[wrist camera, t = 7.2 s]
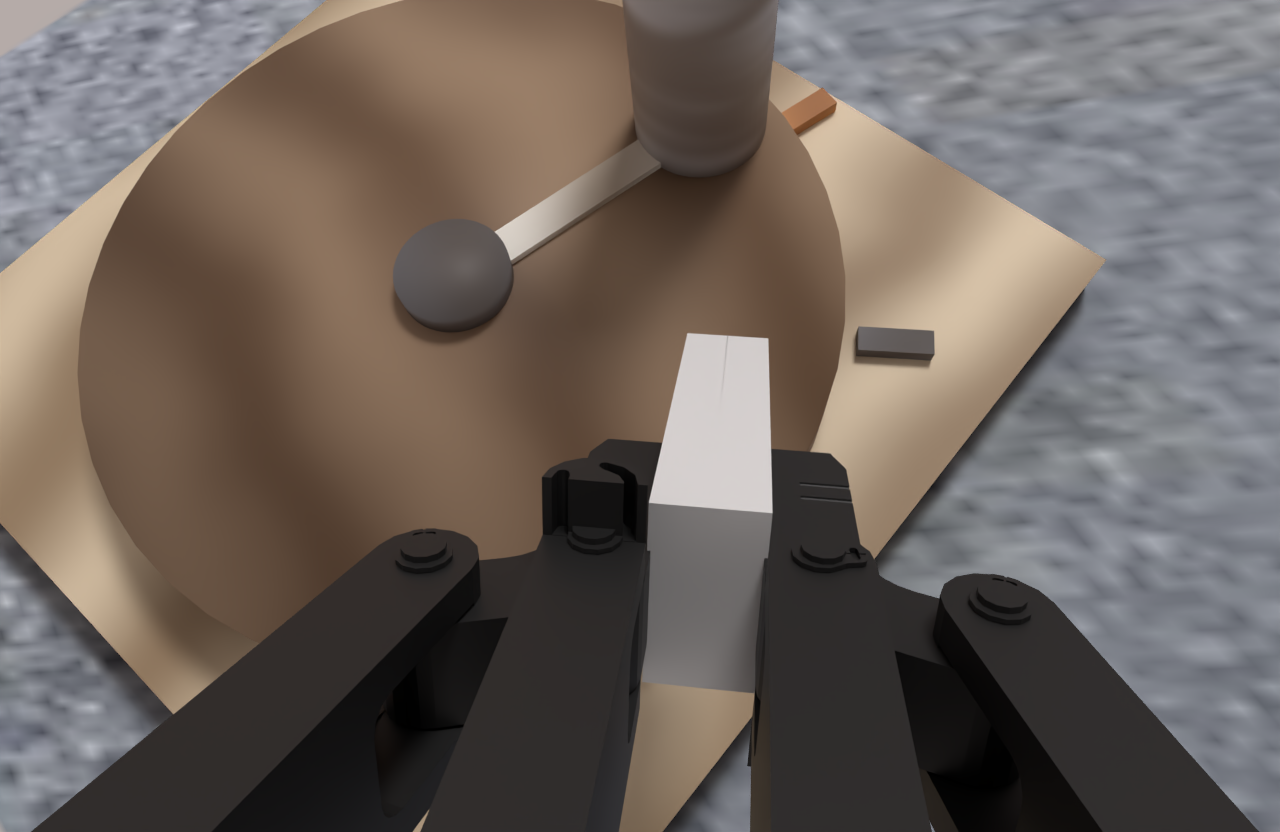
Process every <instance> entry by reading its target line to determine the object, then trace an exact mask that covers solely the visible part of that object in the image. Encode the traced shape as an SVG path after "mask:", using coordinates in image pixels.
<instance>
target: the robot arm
mask: <svg viewBox="0 0 1280 832" xmlns="http://www.w3.org/2000/svg"><path fill="white" fill-rule="evenodd" d="M542 524H543V535H542V537H541V540H540V542H539V545H538V547H537V549H536V550H535V551H532V552H529V553H526V554H522V555H518V556H512V557H506V558H497V559H487V560H479V553H478V546H477V545H476V544H475V543H474V542H473V541H472V540H471V539H470V538H469V537H468V536H465V535H462V534H460V533H457V532H455V531H450V530H441V529H436V528H426V529H424V530H423V529H417V530H412V531H410V532H406V533H403V534H400V535H396V536H393V537H392V538H390V539H388V540H387V541H385V542H383V543H381V544H380V545H378V546H377V547H376V548H375V549H373V550H372V551H371V552H370V553H368V554H367V555H366V556H365V557H364V558H362V559H361V560H360V561H359V562H358V563H356V564H355V565H354V566H353V567H351V568H350V569H349V570H348V571H347V572H345V573H344V574H343V575H342V576H341V577H339V578H338V579H337V580H336V581H335V582H333V583H332V584H331V585H330V586H328V587H327V588H326V589H325V590H324V591H322V592H321V593H320V594H319V595H318V596H316V597H315V598H314V599H313V600H311V601H310V602H309V603H308V604H307V605H305V606H304V607H303V608H302V609H301V610H299V611H298V612H297V613H296V614H294V615H293V616H292V617H291V618H290V619H288V620H287V621H286V622H285V623H284V624H282V625H281V626H280V627H279V628H278V629H276V630H275V631H274V632H273V633H271V634H270V635H269V636H268V637H267V638H265V639H264V640H263V641H262V642H261V643H259V644H258V645H257V646H256V647H254V648H253V649H252V650H251V651H250V652H248V653H247V654H246V655H245V656H244V657H242V658H241V659H240V660H239V661H238V662H236V663H235V664H234V665H233V666H231V667H230V668H229V669H228V670H227V671H225V672H224V673H223V674H222V675H221V676H219V677H218V678H217V679H216V680H214V681H213V682H212V683H211V684H210V685H208V686H207V687H206V688H205V689H204V690H202V691H201V692H200V693H199V694H198V695H196V696H195V697H194V698H193V699H191V700H190V701H189V702H188V703H187V704H185V705H184V706H183V707H182V708H181V709H179V710H178V711H177V712H176V713H174V714H173V715H172V716H171V717H170V718H168V719H167V720H166V721H165V722H164V723H162V724H161V725H160V726H159V727H158V728H156V729H155V730H154V731H153V732H151V733H150V734H149V735H148V736H147V737H145V738H144V739H143V740H142V741H141V742H139V743H138V744H137V745H136V746H134V747H133V748H132V749H131V750H130V751H128V752H127V753H126V754H125V755H124V756H122V757H121V758H120V759H119V760H118V761H116V762H115V763H114V764H113V765H111V766H110V767H109V768H108V769H107V770H105V771H104V772H103V773H102V774H101V775H99V776H98V777H97V778H96V779H94V780H93V781H92V782H91V783H90V784H88V785H87V786H86V787H85V788H84V789H82V790H81V791H80V792H79V793H78V794H76V795H75V796H74V797H73V798H71V799H70V800H69V801H68V802H67V803H65V804H64V805H63V806H62V807H61V808H59V809H58V810H57V811H56V812H54V813H53V814H52V815H51V816H50V817H48V818H47V819H46V820H45V821H44V822H42V823H41V824H40V825H39V826H37V827H36V828H35V829H34V830H33V831H31V832H413V831H414V829H415V828H416V826H417V825H418V824H419V822H420V821H421V820H422V818H423V817H424V816H425V814H426V813H427V812H428V810H429V812H428V814H427V816H426V819H425V821H424V824H423V826H422V829H421V831H420V832H619V828H620V822H621V816H622V810H623V804H624V798H625V792H626V786H627V781H628V775H629V769H630V763H631V757H632V751H633V745H634V739H635V733H636V727H637V722H638V716H639V710H640V686H641V674H642V668H643V674H642V682H647V683H657V684H667V685H676V686H686V687H696V688H706V689H716V690H725V691H735V692H745V693H755V694H754V704H753V714H752V724H751V735H750V745H749V755H748V765H747V766H751V812H750V832H932V831H931V826H930V822H931V824H932V826H933V828H934V830H935V832H1259V831H1258V830H1257V829H1256V828H1255V827H1254V826H1253V824H1252V823H1251V822H1250V821H1249V820H1248V819H1247V818H1246V817H1245V816H1244V814H1243V813H1242V812H1241V811H1240V810H1239V809H1238V808H1237V807H1236V805H1235V804H1234V803H1233V802H1232V801H1231V800H1230V799H1229V798H1228V797H1227V795H1226V794H1225V793H1224V792H1223V791H1222V790H1221V789H1220V788H1219V786H1218V785H1217V784H1216V783H1215V782H1214V781H1213V780H1212V779H1211V778H1210V776H1209V775H1208V774H1207V773H1206V772H1205V771H1204V770H1203V769H1202V767H1201V766H1200V765H1199V764H1198V763H1197V762H1196V761H1195V760H1194V759H1193V757H1192V756H1191V755H1190V754H1189V753H1188V752H1187V751H1186V750H1185V748H1184V747H1183V746H1182V745H1181V744H1180V743H1179V742H1178V741H1177V740H1176V738H1175V737H1174V736H1173V735H1172V734H1171V733H1170V732H1169V731H1168V730H1167V728H1166V727H1165V726H1164V725H1163V724H1162V723H1161V722H1160V721H1159V719H1158V718H1157V717H1156V716H1155V715H1154V714H1153V713H1152V712H1151V711H1150V709H1149V708H1148V707H1147V706H1146V705H1145V704H1144V703H1143V702H1142V700H1141V699H1140V698H1139V697H1138V696H1137V695H1136V694H1135V693H1134V692H1133V690H1132V689H1131V688H1130V687H1129V686H1128V685H1127V684H1126V683H1125V681H1124V680H1123V679H1122V678H1121V677H1120V676H1119V675H1118V674H1117V673H1116V671H1115V670H1114V669H1113V668H1112V667H1111V666H1110V665H1109V664H1108V662H1107V661H1106V660H1105V659H1104V658H1103V657H1102V656H1101V655H1100V654H1099V652H1098V651H1097V650H1096V649H1095V648H1094V647H1093V646H1092V645H1091V643H1090V642H1089V641H1088V640H1087V639H1086V638H1085V637H1084V636H1083V635H1082V633H1081V632H1080V631H1079V630H1078V629H1077V628H1076V627H1075V626H1074V624H1073V623H1072V622H1071V621H1070V620H1069V619H1068V618H1067V617H1066V616H1065V614H1064V613H1063V612H1062V611H1061V610H1060V609H1059V608H1058V607H1057V606H1056V604H1055V603H1054V602H1052V601H1051V600H1050V599H1049V598H1047V597H1046V596H1045V595H1044V594H1043V593H1041V592H1040V591H1039V590H1037V589H1035V588H1032V587H1030V586H1028V585H1026V584H1024V583H1022V582H1020V581H1018V580H1016V579H1012V578H1009V577H1007V578H1006V577H1004V576H1001V575H995V574H969V575H963V576H957V577H955V578H953V579H952V580H950V581H949V582H947V583H945V584H944V586H943V589H942V592H941V594H940V599H939V598H935V597H931V596H928V595H924V594H921V593H917V592H914V591H911V590H908V589H905V588H902V587H899V586H897V585H895V584H893V583H891V582H889V581H887V580H885V579H884V578H882V577H881V576H880V575H879V573H878V568H877V564H876V561H875V560H874V558H873V556H872V554H871V552H870V551H869V550H867V549H866V548H865V547H863V546H862V545H861V544H860V539H859V534H858V529H857V523H856V518H855V513H854V507H853V503H852V497H851V491H850V489H849V481H848V476H847V470H846V468H845V467H844V466H843V465H842V464H841V463H840V462H839V461H837V460H836V459H835V458H834V457H833V456H832V455H831V454H830V453H820V452H807V451H794V450H781V449H771V429H770V388H769V347H768V338H754V337H739V336H724V335H708V334H693V333H687V337H686V342H685V346H684V351H683V355H682V359H681V364H680V368H679V372H678V377H677V381H676V386H675V390H674V394H673V399H672V403H671V408H670V412H669V416H668V421H667V425H666V430H665V434H664V438H663V443H659V442H646V441H632V440H619V439H607V440H606V441H604V442H603V443H601V444H600V445H599V446H597V447H596V448H594V449H593V450H592V451H590V453H589V456H588V458H579V459H574V460H569V461H564V462H562V463H560V464H558V465H556V466H553V467H551V468H550V469H549V470H548V471H547V472H546V473H545V474H544V475H543V476H542ZM929 820H930V821H929Z"/></svg>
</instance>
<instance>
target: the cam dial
mask: <svg viewBox="0 0 1280 832" xmlns="http://www.w3.org/2000/svg"><path fill="white" fill-rule="evenodd" d="M778 1H779V0H622V2H623V7H621V6H618V5H615V4H611V3H607V2H603V1H598V0H401V1H398V2H394V3H391V4H387V5H384V6H381V7H377V8H374V9H370V10H367V11H363V12H360V13H357V14H355V15H352V16H350V17H347V18H344V19H342V20H339V21H337V22H334V23H332V24H329V25H327V26H324V27H322V28H319V29H317V30H315V31H313V32H311V33H309V34H307V35H305V36H303V37H301V38H300V39H298V40H296V41H294V42H292V43H290V44H288V45H286V46H284V47H282V48H280V49H278V50H277V51H275V52H274V53H272V54H271V55H269V56H267V57H266V58H264V59H263V60H261V61H260V62H258V63H257V64H255V65H253V66H252V67H250V68H249V69H247V70H246V71H244V72H243V73H241V74H240V75H239V76H237V77H236V78H235V79H234V80H232V81H231V82H230V83H229V84H227V85H226V86H225V87H224V88H222V89H221V90H220V91H219V92H217V93H216V94H215V95H214V96H212V97H211V98H210V99H208V100H207V101H206V102H205V103H204V104H203V105H202V106H201V107H200V108H199V109H198V110H197V111H196V112H195V113H194V114H193V115H192V116H191V117H190V118H189V119H188V120H187V121H186V122H185V123H184V124H183V125H182V126H181V127H180V128H179V129H178V130H177V131H176V132H175V133H174V134H173V135H172V136H171V138H170V139H169V140H168V141H167V143H166V144H165V145H164V146H163V147H162V149H161V150H160V151H159V152H158V153H157V155H156V156H155V157H154V158H153V160H152V161H151V162H150V163H149V164H148V166H147V167H146V169H145V170H144V172H143V173H142V175H141V176H140V178H139V179H138V181H137V182H136V184H135V186H134V187H133V189H132V190H131V192H130V193H129V195H128V196H127V198H126V199H125V201H124V203H123V204H122V206H121V208H120V210H119V212H118V214H117V216H116V219H115V221H114V223H113V225H112V227H111V229H110V231H109V233H108V235H107V237H106V239H105V241H104V243H103V246H102V249H101V251H100V254H99V257H98V260H97V263H96V266H95V269H94V272H93V275H92V278H91V280H90V283H89V287H88V292H87V297H86V302H85V307H84V312H83V317H82V322H81V327H80V337H79V354H78V371H77V376H78V387H79V398H80V409H81V419H82V423H83V427H84V431H85V436H86V440H87V444H88V448H89V452H90V456H91V460H92V463H93V466H94V468H95V470H96V473H97V475H98V478H99V480H100V482H101V485H102V487H103V489H104V492H105V494H106V496H107V499H108V501H109V503H110V506H111V507H112V509H113V510H114V512H115V514H116V515H117V517H118V518H119V520H120V522H121V523H122V525H123V526H124V528H125V529H126V531H127V533H128V534H129V536H130V537H131V539H132V541H133V542H134V544H135V545H136V547H137V548H138V549H139V550H140V551H141V552H142V553H143V554H144V556H145V557H146V558H147V559H148V560H149V561H150V562H151V563H152V565H153V566H154V567H155V568H156V569H157V570H158V571H159V572H160V574H161V575H162V576H163V577H164V578H165V579H166V580H167V581H168V582H169V583H170V584H171V585H172V586H173V587H175V588H176V589H177V590H178V591H180V592H181V593H182V594H183V595H184V596H186V597H187V598H188V599H189V600H191V601H192V602H193V603H194V604H195V605H197V606H198V607H199V608H200V609H202V610H203V611H204V612H205V613H206V614H208V615H210V616H211V617H213V618H215V619H217V620H218V621H220V622H222V623H223V624H225V625H227V626H229V627H230V628H232V629H234V630H235V631H237V632H239V633H241V634H242V635H244V636H246V637H247V638H249V639H251V640H253V641H255V642H258V643H261V642H262V641H263V640H264V639H265V638H267V637H268V636H269V635H270V634H271V633H273V632H274V631H275V630H276V629H278V628H279V627H280V626H281V625H282V624H284V623H285V622H286V621H287V620H288V619H290V618H291V617H292V616H293V615H294V614H296V613H297V612H298V611H299V610H301V609H302V608H303V607H304V606H305V605H307V604H308V603H309V602H310V601H311V600H313V599H314V598H315V597H316V596H318V595H319V594H320V593H321V592H322V591H324V590H325V589H326V588H327V587H328V586H330V585H331V584H332V583H333V582H335V581H336V580H337V579H338V578H339V577H341V576H342V575H343V574H344V573H345V572H347V571H348V570H349V569H350V568H351V567H353V566H354V565H355V564H356V563H358V562H359V561H360V560H361V559H362V558H364V557H365V556H366V555H367V554H368V553H370V552H371V551H372V550H373V549H375V548H376V547H377V546H378V545H380V544H381V543H383V542H385V541H387V540H388V539H390V538H392V537H393V536H396V535H400V534H403V533H406V532H410V531H412V530H417V529H423V530H424V529H426V528H436V529H441V530H450V531H455V532H457V533H460V534H462V535H465V536H468V537H469V538H470V539H471V540H472V541H473V542H474V543H475V544H476V545H477V546H478V553H479V560H487V559H497V558H506V557H512V556H518V555H522V554H526V553H529V552H532V551H535V550H536V549H537V547H538V545H539V542H540V540H541V537H542V535H543V524H542V476H543V475H544V474H545V473H546V472H547V471H548V470H549V469H550V468H551V467H553V466H556V465H558V464H560V463H562V462H564V461H569V460H574V459H579V458H588V456H589V453H590V451H592V450H593V449H594V448H596V447H597V446H599V445H600V444H601V443H603V442H604V441H606V440H607V439H619V440H632V441H646V442H659V443H663V438H664V434H665V430H666V425H667V421H668V416H669V412H670V408H671V403H672V399H673V394H674V390H675V386H676V381H677V377H678V372H679V368H680V364H681V359H682V355H683V351H684V346H685V342H686V337H687V333H693V334H708V335H724V336H739V337H754V338H768V347H769V388H770V429H771V449H781V450H794V451H807V452H810V451H811V449H812V447H813V445H814V442H815V439H816V436H817V432H818V429H819V426H820V423H821V420H822V417H823V414H824V411H825V408H826V405H827V401H828V398H829V395H830V392H831V389H832V386H833V382H834V379H835V376H836V373H837V370H838V364H839V357H840V351H841V345H842V338H843V332H844V326H845V269H844V263H843V256H842V249H841V242H840V235H839V230H838V227H837V223H836V220H835V217H834V214H833V210H832V207H831V204H830V200H829V197H828V194H827V190H826V188H825V186H824V184H823V182H822V180H821V178H820V176H819V174H818V171H817V169H816V167H815V165H814V163H813V161H812V159H811V157H810V155H809V152H808V151H807V149H806V148H805V146H804V145H803V143H802V142H801V140H800V139H799V137H798V136H797V134H796V133H795V131H794V130H793V128H792V127H791V125H790V124H789V122H788V121H787V119H786V118H785V117H784V115H783V114H782V113H781V112H780V111H779V110H778V109H777V108H776V106H775V105H774V104H773V103H772V102H771V101H770V100H769V92H770V82H771V72H772V62H773V52H774V41H775V31H776V21H777V11H778Z"/></svg>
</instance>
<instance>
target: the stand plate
mask: <svg viewBox="0 0 1280 832" xmlns="http://www.w3.org/2000/svg"><path fill="white" fill-rule="evenodd" d="M398 1H401V0H326V1H325V2H324V3H323V4H321V5H320V6H319V7H318V8H317V9H315V10H314V11H313V12H312V13H311V14H309V15H308V16H307V17H306V18H305V19H303V20H302V21H301V22H300V23H299V24H297V25H296V26H295V27H294V28H293V29H291V30H290V31H289V32H288V33H287V34H286V35H284V36H283V37H282V38H281V39H280V40H278V41H277V42H276V43H275V44H274V45H272V46H271V47H270V48H269V49H268V50H266V51H265V52H264V53H263V54H262V55H260V56H259V57H258V58H257V59H256V60H254V61H253V62H252V63H251V64H250V65H248V66H247V67H246V68H245V69H244V70H242V71H241V72H240V73H239V74H238V75H237V76H239V75H240V74H241V73H243V72H244V71H246V70H247V69H249V68H250V67H252V66H253V65H255V64H257V63H258V62H260V61H261V60H263V59H264V58H266V57H267V56H269V55H271V54H272V53H274V52H275V51H277V50H278V49H280V48H282V47H284V46H286V45H288V44H290V43H292V42H294V41H296V40H298V39H300V38H301V37H303V36H305V35H307V34H309V33H311V32H313V31H315V30H317V29H319V28H322V27H324V26H327V25H329V24H332V23H334V22H337V21H339V20H342V19H344V18H347V17H350V16H352V15H355V14H357V13H360V12H363V11H367V10H370V9H374V8H377V7H381V6H384V5H387V4H391V3H394V2H398ZM598 1H603V2H607V3H611V4H615V5H618V6H621V7H623V2H622V0H598ZM237 76H235V77H234V78H233V79H232V80H234V79H235V78H236V77H237ZM232 80H231V81H232ZM231 81H229V82H228V83H227V84H229V83H230V82H231ZM227 84H226V85H227ZM226 85H225V86H226ZM225 86H223V87H222V88H224V87H225ZM222 88H221V89H222ZM221 89H220V90H221ZM220 90H219V91H220ZM219 91H217V92H219ZM217 92H216V93H217ZM216 93H215V94H216ZM215 94H214V95H215ZM214 95H213V96H214ZM211 97H212V96H211ZM211 97H210V98H211ZM210 98H209V99H210ZM769 100H770V101H771V102H772V103H773V104H774V105H775V106H776V108H777V109H778V110H779V111H780V112H781V113H782V114H783V115H784V117H785V118H786V119H787V121H788V122H789V124H790V125H791V127H792V128H793V130H794V131H795V133H796V134H797V136H798V137H799V139H800V140H801V142H802V143H803V145H804V146H805V148H806V149H807V151H808V152H809V155H810V157H811V159H812V161H813V163H814V165H815V167H816V169H817V171H818V174H819V176H820V178H821V180H822V182H823V184H824V186H825V188H826V190H827V194H828V197H829V200H830V204H831V207H832V210H833V214H834V217H835V220H836V223H837V227H838V230H839V235H840V242H841V249H842V256H843V263H844V269H845V326H844V332H843V338H842V345H841V351H840V357H839V364H838V370H837V373H836V376H835V379H834V382H833V386H832V389H831V392H830V395H829V398H828V401H827V405H826V408H825V411H824V414H823V417H822V420H821V423H820V426H819V429H818V432H817V436H816V439H815V442H814V445H813V447H812V449H811V451H810V452H820V453H830V454H831V455H832V456H833V457H834V458H835V459H836V460H837V461H839V462H840V463H841V464H842V465H843V466H844V467H845V468H846V470H847V476H848V481H849V489H850V491H851V497H852V503H853V507H854V513H855V518H856V523H857V529H858V534H859V539H860V544H861V545H862V546H863V547H865V548H866V549H867V550H869V551H870V552H871V554H872V556H873V558H874V559H875V557H876V556H877V555H878V554H879V552H880V551H881V550H882V548H883V547H884V546H885V545H886V543H887V542H888V541H889V539H890V538H891V537H892V535H893V534H894V533H895V532H896V530H897V529H898V528H899V526H900V525H901V524H902V523H903V521H904V520H905V519H906V517H907V516H908V515H909V514H910V512H911V511H912V510H913V508H914V507H915V506H916V505H917V503H918V502H919V501H920V499H921V498H922V497H923V496H924V494H925V493H926V492H927V490H928V489H929V488H930V487H931V485H932V484H933V483H934V481H935V480H936V479H937V477H938V476H939V475H940V474H941V472H942V471H943V470H944V468H945V467H946V466H947V465H948V463H949V462H950V461H951V459H952V458H953V457H954V456H955V454H956V453H957V452H958V450H959V449H960V448H961V447H962V445H963V444H964V443H965V441H966V440H967V439H968V438H969V436H970V435H971V434H972V432H973V431H974V430H975V429H976V427H977V426H978V425H979V423H980V422H981V421H982V419H983V418H984V417H985V416H986V414H987V413H988V412H989V410H990V409H991V408H992V407H993V405H994V404H995V403H996V401H997V400H998V399H999V398H1000V396H1001V395H1002V394H1003V392H1004V391H1005V390H1006V389H1007V387H1008V386H1009V385H1010V383H1011V382H1012V381H1013V380H1014V378H1015V377H1016V376H1017V374H1018V373H1019V372H1020V371H1021V369H1022V368H1023V367H1024V365H1025V364H1026V363H1027V361H1028V360H1029V359H1030V358H1031V356H1032V355H1033V354H1034V352H1035V351H1036V350H1037V349H1038V347H1039V346H1040V345H1041V343H1042V342H1043V341H1044V340H1045V338H1046V337H1047V336H1048V334H1049V333H1050V332H1051V331H1052V329H1053V328H1054V327H1055V325H1056V324H1057V323H1058V322H1059V320H1060V319H1061V318H1062V316H1063V315H1064V314H1065V313H1066V311H1067V310H1068V309H1069V307H1070V306H1071V305H1072V304H1073V302H1074V301H1075V300H1076V298H1077V297H1078V296H1079V294H1080V293H1081V292H1082V291H1083V289H1084V288H1085V287H1086V285H1087V284H1088V283H1089V282H1090V280H1091V279H1092V278H1093V276H1094V275H1095V274H1096V273H1097V271H1098V270H1099V269H1100V267H1101V266H1102V265H1103V263H1104V262H1105V261H1106V259H1104V258H1102V257H1101V256H1099V255H1097V254H1096V253H1094V252H1092V251H1091V250H1089V249H1087V248H1086V247H1084V246H1082V245H1081V244H1079V243H1077V242H1076V241H1074V240H1072V239H1071V238H1069V237H1067V236H1066V235H1064V234H1062V233H1061V232H1059V231H1057V230H1056V229H1054V228H1052V227H1051V226H1049V225H1047V224H1046V223H1044V222H1042V221H1041V220H1039V219H1037V218H1036V217H1034V216H1032V215H1031V214H1029V213H1027V212H1026V211H1024V210H1022V209H1021V208H1019V207H1017V206H1016V205H1014V204H1012V203H1011V202H1009V201H1007V200H1006V199H1004V198H1002V197H1001V196H999V195H997V194H996V193H994V192H992V191H990V190H989V189H987V188H985V187H984V186H982V185H980V184H979V183H977V182H975V181H974V180H972V179H970V178H969V177H967V176H965V175H964V174H962V173H960V172H959V171H957V170H955V169H954V168H952V167H950V166H949V165H947V164H945V163H944V162H942V161H940V160H939V159H937V158H935V157H934V156H932V155H930V154H929V153H927V152H925V151H924V150H922V149H920V148H919V147H917V146H915V145H914V144H912V143H910V142H909V141H907V140H905V139H904V138H902V137H900V136H899V135H897V134H895V133H894V132H892V131H890V130H889V129H887V128H885V127H884V126H882V125H880V124H879V123H877V122H875V121H874V120H872V119H870V118H869V117H867V116H865V115H864V114H862V113H860V112H859V111H857V110H855V109H854V108H852V107H850V106H849V105H847V104H845V103H844V102H842V101H840V100H839V99H837V98H835V97H834V96H832V95H830V94H829V93H827V92H826V91H825V90H824V89H823V88H821V89H820V88H819V87H817V86H815V85H814V84H812V83H810V82H809V81H807V80H805V79H804V78H802V77H800V76H799V75H797V74H795V73H794V72H792V71H790V70H789V69H787V68H785V67H784V66H782V65H780V64H779V63H777V62H775V61H774V60H773V62H772V72H771V82H770V92H769ZM205 102H206V101H205ZM205 102H204V103H205ZM204 103H203V104H204ZM203 104H202V105H203ZM202 105H201V106H202ZM201 106H199V107H198V108H197V109H196V110H195V111H194V112H192V113H191V114H190V115H189V116H188V117H186V118H185V119H184V120H183V121H182V122H180V123H179V124H178V125H177V126H176V127H174V128H173V129H172V130H171V131H170V132H168V133H167V134H166V135H165V136H164V137H162V138H161V139H160V140H159V141H158V142H156V143H155V144H154V145H153V146H152V147H150V148H149V149H148V150H147V151H146V152H145V153H143V154H142V155H141V156H140V157H139V158H137V159H136V160H135V161H134V162H133V163H131V164H130V165H129V166H128V167H127V168H125V169H124V170H123V171H122V172H121V173H119V174H118V175H117V176H116V177H115V178H113V179H112V180H111V181H110V182H109V183H107V184H106V185H105V186H104V187H103V188H102V189H100V190H99V191H98V192H97V193H96V194H94V195H93V196H92V197H91V198H90V199H88V200H87V201H86V202H85V203H84V204H82V205H81V206H80V207H79V208H78V209H76V210H75V211H74V212H73V213H72V214H70V215H69V216H68V217H67V218H66V219H64V220H63V221H62V222H61V223H60V224H58V225H57V226H56V227H55V228H54V229H53V230H51V231H50V232H49V233H48V234H47V235H45V236H44V237H43V238H42V239H41V240H39V241H38V242H37V243H36V244H35V245H33V246H32V247H31V248H30V249H29V250H27V251H26V252H25V253H24V254H23V255H21V256H20V257H19V258H18V259H17V260H15V261H14V262H13V263H12V264H11V265H9V266H8V267H7V268H6V269H5V270H4V271H2V272H1V273H0V523H1V525H2V526H3V527H4V528H5V529H6V530H7V531H8V532H9V533H10V534H11V536H12V537H13V538H14V539H15V540H16V541H17V542H18V543H19V544H20V545H21V547H22V548H23V549H24V550H25V551H26V552H27V553H28V554H29V555H30V557H31V558H32V559H33V560H34V561H35V562H36V563H37V564H38V565H39V566H40V568H41V569H42V570H43V571H44V572H45V573H46V574H47V575H48V576H49V578H50V579H51V580H52V581H53V582H54V583H55V584H56V585H57V586H58V587H59V589H60V590H61V591H62V592H63V593H64V594H65V595H66V596H67V597H68V598H69V600H70V601H71V602H72V603H73V604H74V605H75V606H76V607H77V608H78V610H79V611H80V612H81V613H82V614H83V615H84V616H85V617H86V618H87V619H88V621H89V622H90V623H91V624H92V625H93V626H94V627H95V628H96V629H97V630H98V632H99V633H100V634H101V635H102V636H103V637H104V638H105V639H106V640H107V642H108V643H109V644H110V645H111V646H112V647H113V648H114V649H115V650H116V651H117V653H118V654H119V655H120V656H121V657H122V658H123V659H124V660H125V661H126V663H127V664H128V665H129V666H130V667H131V668H132V669H133V670H134V671H135V672H136V674H137V675H138V676H139V677H140V678H141V679H142V680H143V681H144V682H145V683H146V685H147V686H148V687H149V688H150V689H151V690H152V691H153V692H154V693H155V695H156V696H157V697H158V698H159V699H160V700H161V701H162V702H163V703H164V704H165V706H166V707H167V708H168V709H169V710H170V711H171V712H172V713H173V714H174V713H176V712H177V711H178V710H179V709H181V708H182V707H183V706H184V705H185V704H187V703H188V702H189V701H190V700H191V699H193V698H194V697H195V696H196V695H198V694H199V693H200V692H201V691H202V690H204V689H205V688H206V687H207V686H208V685H210V684H211V683H212V682H213V681H214V680H216V679H217V678H218V677H219V676H221V675H222V674H223V673H224V672H225V671H227V670H228V669H229V668H230V667H231V666H233V665H234V664H235V663H236V662H238V661H239V660H240V659H241V658H242V657H244V656H245V655H246V654H247V653H248V652H250V651H251V650H252V649H253V648H254V647H256V646H257V645H258V644H259V643H258V642H255V641H253V640H251V639H249V638H247V637H246V636H244V635H242V634H241V633H239V632H237V631H235V630H234V629H232V628H230V627H229V626H227V625H225V624H223V623H222V622H220V621H218V620H217V619H215V618H213V617H211V616H210V615H208V614H206V613H205V612H204V611H203V610H202V609H200V608H199V607H198V606H197V605H195V604H194V603H193V602H192V601H191V600H189V599H188V598H187V597H186V596H184V595H183V594H182V593H181V592H180V591H178V590H177V589H176V588H175V587H173V586H172V585H171V584H170V583H169V582H168V581H167V580H166V579H165V578H164V577H163V576H162V575H161V574H160V572H159V571H158V570H157V569H156V568H155V567H154V566H153V565H152V563H151V562H150V561H149V560H148V559H147V558H146V557H145V556H144V554H143V553H142V552H141V551H140V550H139V549H138V548H137V547H136V545H135V544H134V542H133V541H132V539H131V537H130V536H129V534H128V533H127V531H126V529H125V528H124V526H123V525H122V523H121V522H120V520H119V518H118V517H117V515H116V514H115V512H114V510H113V509H112V507H111V506H110V503H109V501H108V499H107V496H106V494H105V492H104V489H103V487H102V485H101V482H100V480H99V478H98V475H97V473H96V470H95V468H94V466H93V463H92V460H91V456H90V452H89V448H88V444H87V440H86V436H85V431H84V427H83V423H82V419H81V409H80V398H79V387H78V376H77V371H78V354H79V337H80V327H81V322H82V317H83V312H84V307H85V302H86V297H87V292H88V287H89V283H90V280H91V278H92V275H93V272H94V269H95V266H96V263H97V260H98V257H99V254H100V251H101V249H102V246H103V243H104V241H105V239H106V237H107V235H108V233H109V231H110V229H111V227H112V225H113V223H114V221H115V219H116V216H117V214H118V212H119V210H120V208H121V206H122V204H123V203H124V201H125V199H126V198H127V196H128V195H129V193H130V192H131V190H132V189H133V187H134V186H135V184H136V182H137V181H138V179H139V178H140V176H141V175H142V173H143V172H144V170H145V169H146V167H147V166H148V164H149V163H150V162H151V161H152V160H153V158H154V157H155V156H156V155H157V153H158V152H159V151H160V150H161V149H162V147H163V146H164V145H165V144H166V143H167V141H168V140H169V139H170V138H171V136H172V135H173V134H174V133H175V132H176V131H177V130H178V129H179V128H180V127H181V126H182V125H183V124H184V123H185V122H186V121H187V120H188V119H189V118H190V117H191V116H192V115H193V114H194V113H195V112H196V111H197V110H198V109H199V108H200V107H201ZM642 674H643V668H642ZM642 674H641V686H640V710H639V716H638V722H637V727H636V733H635V739H634V745H633V751H632V757H631V763H630V769H629V775H628V781H627V786H626V792H625V798H624V804H623V810H622V816H621V822H620V828H619V832H663V831H664V829H665V828H666V827H667V825H668V824H669V823H670V822H671V820H672V819H673V818H674V816H675V815H676V814H677V813H678V811H679V810H680V809H681V807H682V806H683V805H684V804H685V802H686V801H687V800H688V798H689V797H690V796H691V795H692V793H693V792H694V791H695V789H696V788H697V787H698V786H699V784H700V783H701V782H702V780H703V779H704V778H705V777H706V775H707V774H708V773H709V771H710V770H711V769H712V767H713V766H714V765H715V764H716V762H717V761H718V760H719V758H720V757H721V756H722V755H723V753H724V752H725V751H726V749H727V748H728V747H729V746H730V744H731V743H732V742H733V740H734V739H735V738H736V737H737V735H738V734H739V733H740V731H741V730H742V729H743V728H744V726H745V725H746V724H747V722H748V721H749V720H750V719H751V717H752V714H753V704H754V694H755V693H745V692H735V691H725V690H716V689H706V688H696V687H686V686H676V685H667V684H657V683H647V682H642ZM428 812H429V810H428ZM428 812H427V813H426V814H425V816H424V817H423V818H422V820H421V821H420V822H419V824H418V825H417V826H416V828H415V829H414V831H413V832H420V831H421V829H422V826H423V824H424V821H425V819H426V816H427V814H428Z"/></svg>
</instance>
